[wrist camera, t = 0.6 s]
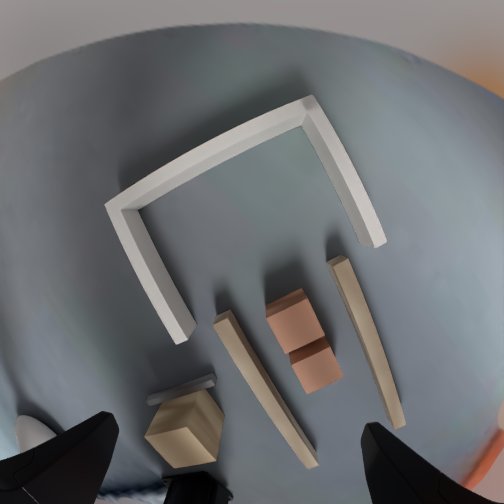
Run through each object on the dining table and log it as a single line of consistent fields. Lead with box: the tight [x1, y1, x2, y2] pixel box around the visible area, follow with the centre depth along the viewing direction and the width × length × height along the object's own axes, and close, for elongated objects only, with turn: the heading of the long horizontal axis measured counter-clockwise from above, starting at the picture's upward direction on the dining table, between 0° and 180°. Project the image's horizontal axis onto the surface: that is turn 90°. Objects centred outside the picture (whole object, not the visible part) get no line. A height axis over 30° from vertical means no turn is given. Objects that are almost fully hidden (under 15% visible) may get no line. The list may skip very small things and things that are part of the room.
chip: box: [265, 288, 325, 354], centre depth 20 cm, size 3×3×3 cm
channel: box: [213, 255, 406, 469], centre depth 21 cm, size 10×18×2 cm, turn 27°
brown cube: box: [289, 336, 344, 394], centre depth 20 cm, size 3×3×3 cm
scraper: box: [144, 373, 225, 468], centre depth 20 cm, size 7×5×6 cm, turn 117°
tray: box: [104, 94, 387, 345], centre depth 19 cm, size 16×11×3 cm
